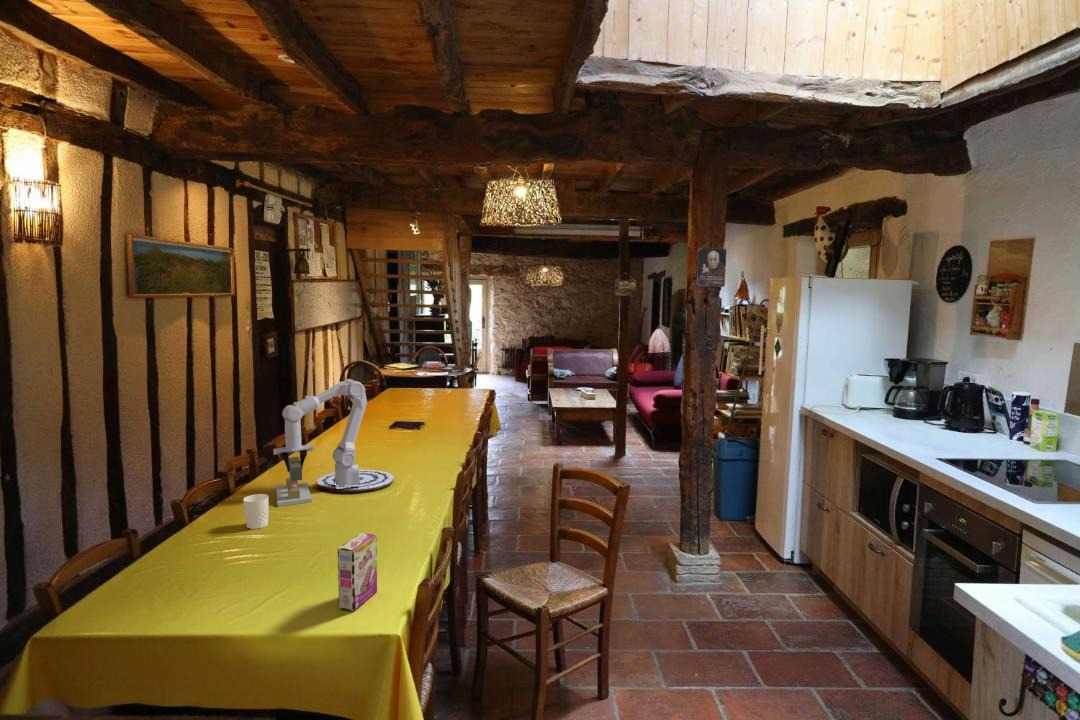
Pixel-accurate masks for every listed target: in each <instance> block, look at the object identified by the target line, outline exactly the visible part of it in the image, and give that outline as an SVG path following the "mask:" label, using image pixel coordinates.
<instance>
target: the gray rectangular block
mask: <svg viewBox="0 0 1080 720" xmlns="http://www.w3.org/2000/svg"><path fill="white" fill-rule="evenodd" d="M289 471H290V472H288V474H289V478H290V479H291V481H297V482H298V481H303V468H302V466H301V463H300V456H291V457H289Z"/></svg>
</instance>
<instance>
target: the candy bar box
mask: <svg viewBox="0 0 1080 720" xmlns="http://www.w3.org/2000/svg"><path fill="white" fill-rule="evenodd" d="M377 550H378V549H377V534H373V533H366V532H361V533H359V534H357V535H356V536H355V537H353V538H352V539H350V540H348V541H347V542H345V543H343V544H342V545H341V546H339V547H338V548H337V577H338V578H337V580H338V581H337V582H338V584H337V585H338V609H340V610H345V611H349V612H356V611H357V610H358V609H359V608H360V607H361V606H362V605H364V604H365V603H366V602H367V601H368V600H369V599H371V597H373V596H374V595H375V594H376V593H377V592H378V571H377V570H378V565H377V563H378V561H377V559H378V558H377V557H378V556H377V553H378V552H377Z"/></svg>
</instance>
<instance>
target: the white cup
mask: <svg viewBox="0 0 1080 720" xmlns="http://www.w3.org/2000/svg"><path fill="white" fill-rule="evenodd" d="M242 502H243V508H244V516H245V524H246V528H247V529H248V528H250V529H249V530H259V529H258V528H260V529H263V527H264V528H265V526H266V527H267V526H268V525H269V510H270V509H269V505H270V504H269V495H268V494H265V493H257V494H251V495H250V494H249V495H248V496H247V495H246V496H245V497H244V498H243V501H242Z"/></svg>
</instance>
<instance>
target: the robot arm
mask: <svg viewBox="0 0 1080 720" xmlns="http://www.w3.org/2000/svg"><path fill="white" fill-rule="evenodd" d="M366 390H367V389H366V388H365V386H364V385H363V384H362V383H361V382H360V381H357V380H353V379H351V378H345V379H344V380H343V381H342V380H341V381H340V382H338V383H336V384H334V385H332V386H331V387H329V388H328V389H326V390H323V391H322V392H320V393H319V394H317V395H305V396H304V398H302V399H301V400H299V401H295V402H293V404H289V405H286V406H285V407H284V409H283V410H282V413H281V415H282V417H283V419H284V436H285V438H284V439H285V446H284V447H277V448H273V455H274V456H276V455H280V457H281V458H282V460H283V461H284V464H285V465H286V467H285V468H286V471H287V473H289V472H290V471H289V458H290V457H289V453H299V460H300V463H301V466H302V469H303V467H304V463H305V460H306V458H307V455H308V452H313V451H315V448H314V447H315V446H314V444H309V445H308V444H306V445H305V444H302V429H301V428H302V426H301V425H302V424H301V419H302V418H303V416H306V415H307V414H309V413H311V412H313V411H315V410H317V409H318V408H319V407H320V404H322V403H324V402H326V401H328V400H330V399H332V398H335V397H337V396H347V397H348V399H350V401H351V403H352V406H351V409H350V412H349V415H348V418H347V422H346V425H345V429H344V432H343V435H342V438H341V440H340V441H339V443H337V447H336V448H335V449H334V450H333V452H332V459H333V460H334V461H335V463H334V474H335V475H334V477H335V478H334V479H335V483H336V485H339V486H345V485H350V484H359V483H361V482H360V467H359V464H358V463H355V461H356V452H357V451H356V450H357V449H356V445H355V444H356V440H357V438H358V433H359V431H360V427H361V424H362V421H363V417H364V414H365V411H366V408H367V405H368V399H367V396H366V395H367V394H366Z"/></svg>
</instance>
